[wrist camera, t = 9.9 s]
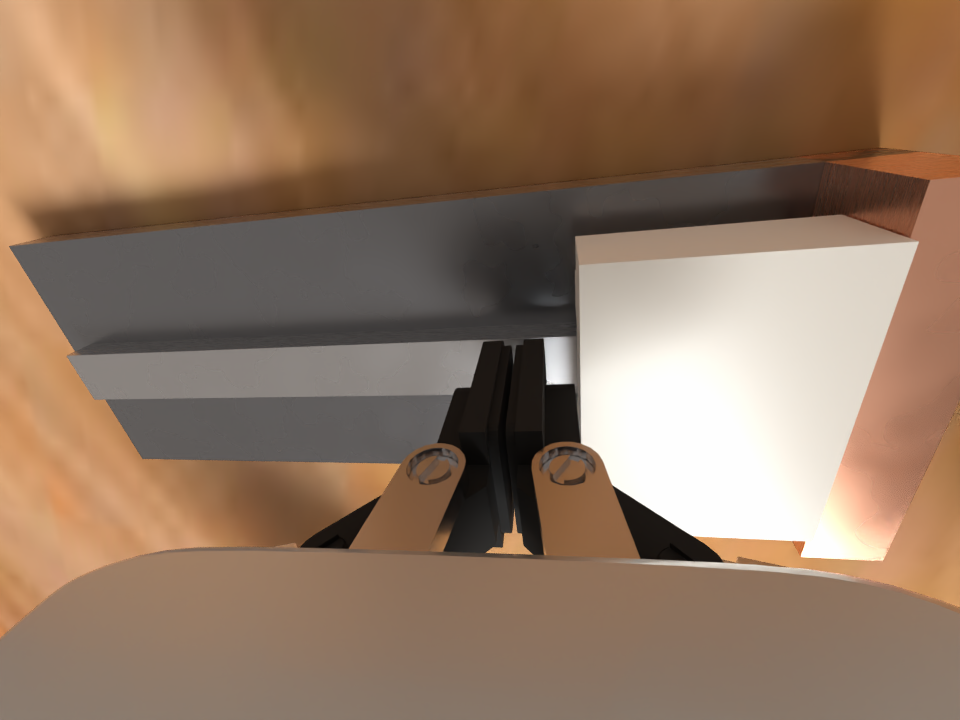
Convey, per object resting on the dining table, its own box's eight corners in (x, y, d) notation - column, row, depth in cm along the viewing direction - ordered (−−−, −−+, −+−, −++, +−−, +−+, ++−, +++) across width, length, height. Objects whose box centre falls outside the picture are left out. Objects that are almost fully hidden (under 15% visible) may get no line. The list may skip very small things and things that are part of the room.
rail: (880, 147, 12) (1072, 166, 7) (796, 443, 16) (882, 561, 12) (50, 236, 17) (-122, 277, 13) (167, 438, 22) (70, 518, 17)
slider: (819, 206, 11) (919, 241, 8) (760, 454, 15) (812, 541, 12) (574, 227, 12) (579, 264, 9) (577, 451, 16) (582, 530, 13)
